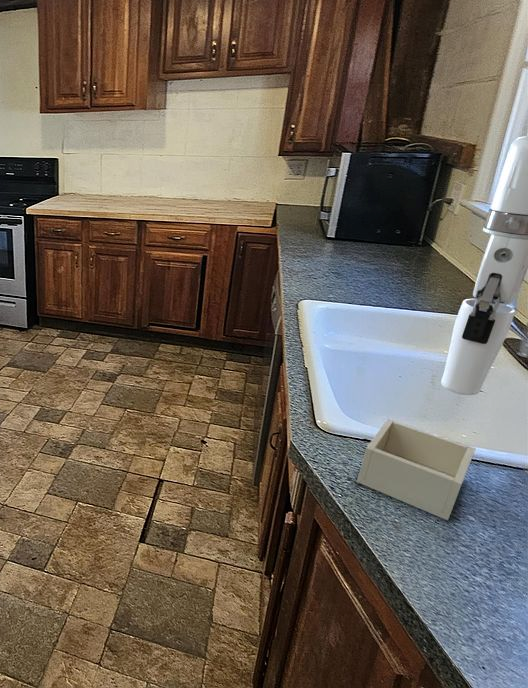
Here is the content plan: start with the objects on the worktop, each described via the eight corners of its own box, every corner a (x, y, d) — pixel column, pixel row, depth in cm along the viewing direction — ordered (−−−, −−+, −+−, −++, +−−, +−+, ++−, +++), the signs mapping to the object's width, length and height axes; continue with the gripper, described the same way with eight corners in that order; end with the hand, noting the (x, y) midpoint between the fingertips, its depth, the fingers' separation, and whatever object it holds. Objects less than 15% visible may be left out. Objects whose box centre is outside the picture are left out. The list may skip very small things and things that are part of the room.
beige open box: (462, 482, 90) (475, 448, 88) (447, 520, 82) (461, 484, 79) (378, 450, 99) (387, 418, 96) (356, 482, 90) (366, 447, 87)
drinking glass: (442, 375, 93) (469, 295, 87) (489, 390, 88) (521, 306, 83) (428, 387, 89) (456, 303, 84) (477, 403, 84) (509, 316, 79)
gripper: (544, 237, 70) (499, 357, 77) (556, 220, 81) (515, 327, 88) (475, 228, 75) (438, 342, 82) (495, 213, 86) (461, 315, 93)
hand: (478, 333), depth 85 cm, fingers closed on drinking glass, 6 cm apart
